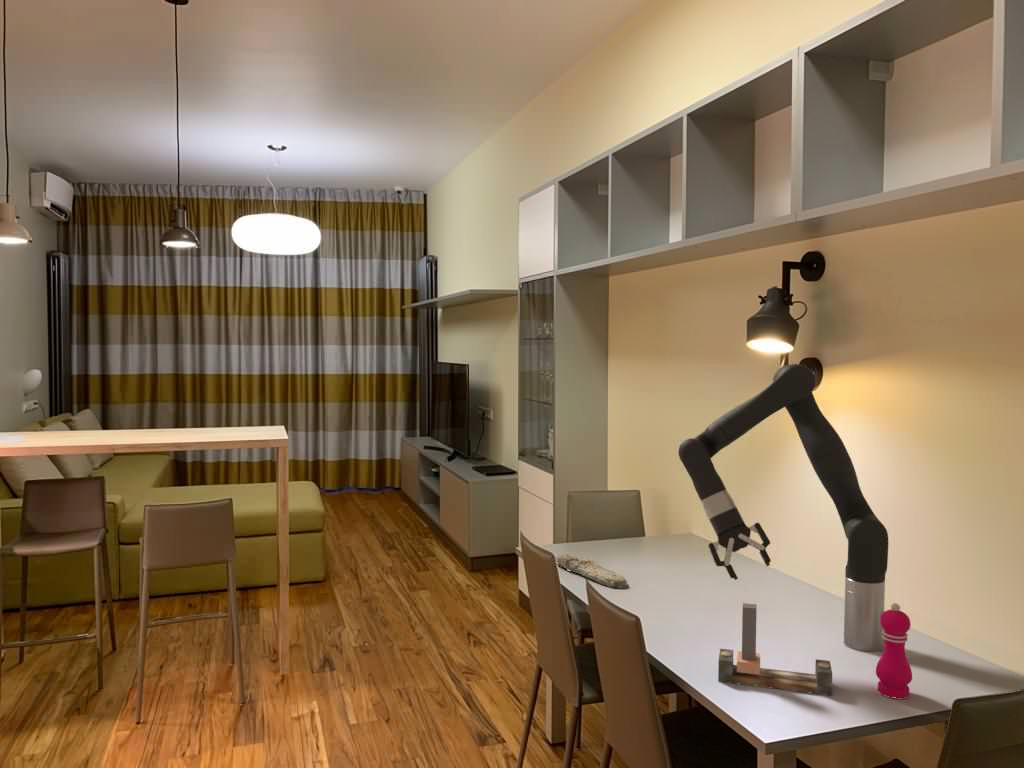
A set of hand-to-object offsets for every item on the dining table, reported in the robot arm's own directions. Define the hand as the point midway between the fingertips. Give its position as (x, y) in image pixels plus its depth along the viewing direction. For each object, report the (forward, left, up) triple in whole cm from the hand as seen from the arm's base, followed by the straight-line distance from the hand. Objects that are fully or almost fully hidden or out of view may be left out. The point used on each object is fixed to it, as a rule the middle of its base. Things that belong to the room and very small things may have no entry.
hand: (752, 572), depth 196 cm
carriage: (0, +16, -18) cm, 24 cm away
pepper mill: (-30, +14, -20) cm, 39 cm away
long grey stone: (+52, -53, -21) cm, 77 cm away
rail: (-5, +16, -20) cm, 26 cm away
